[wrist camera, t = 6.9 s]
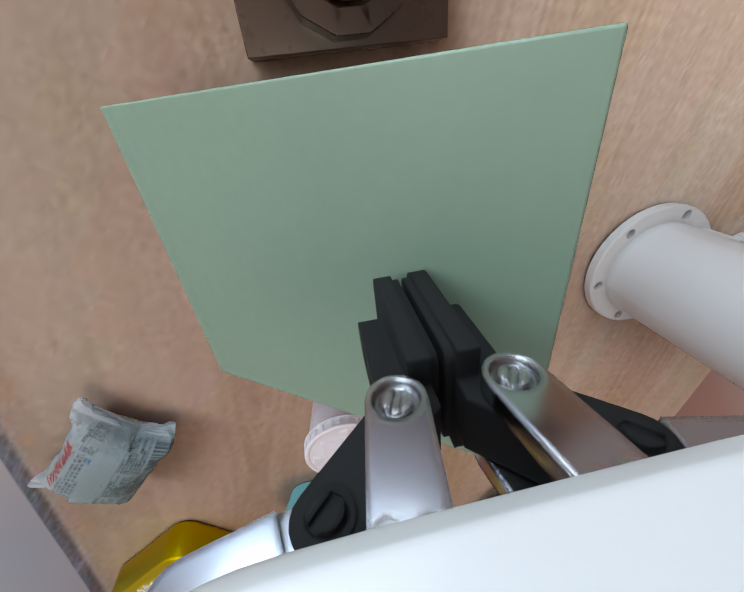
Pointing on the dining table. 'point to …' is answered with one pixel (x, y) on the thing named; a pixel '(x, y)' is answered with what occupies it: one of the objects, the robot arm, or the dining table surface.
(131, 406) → the dining table surface
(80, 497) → the packaged food
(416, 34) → the switch block
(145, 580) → the element tile
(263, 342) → the lid
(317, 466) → the smoothie
